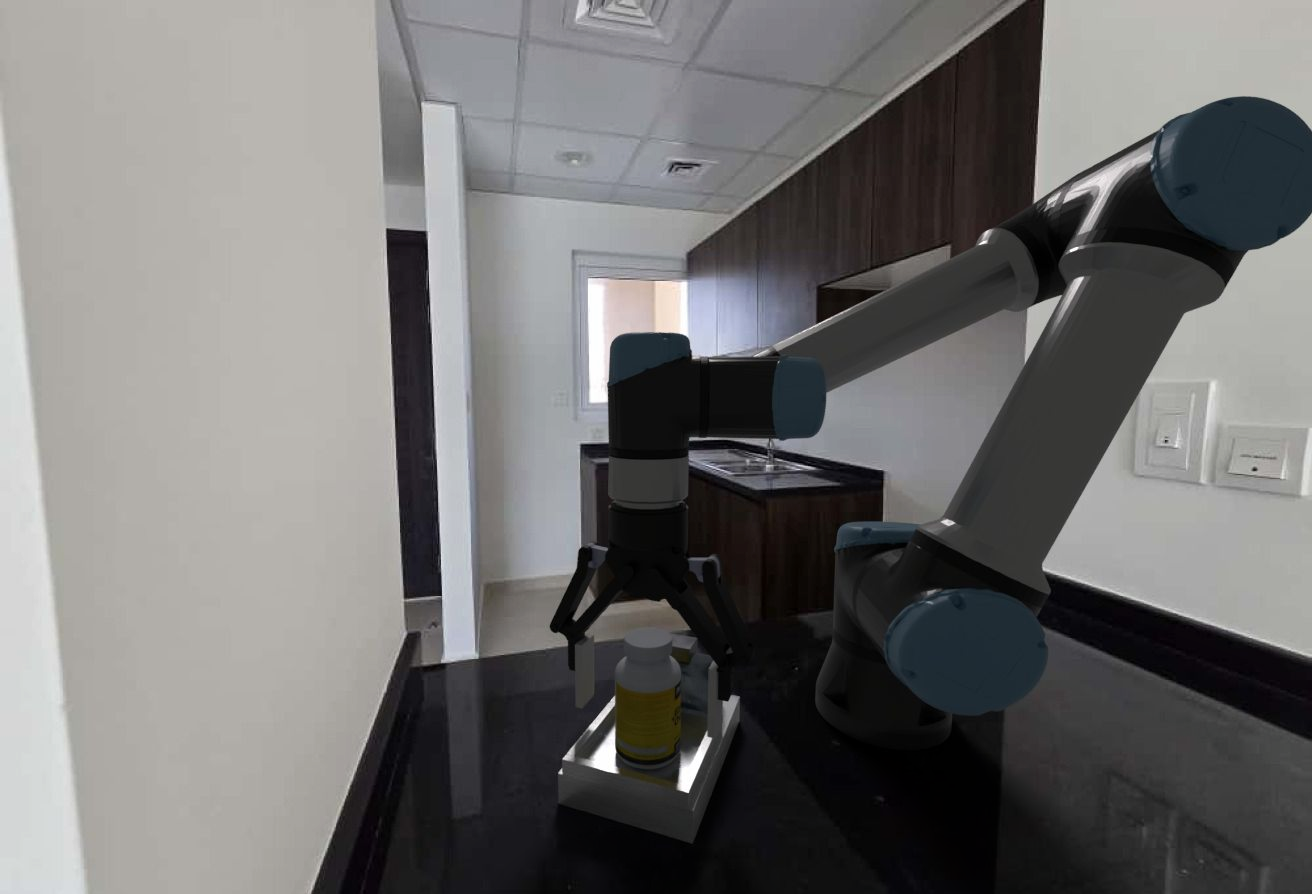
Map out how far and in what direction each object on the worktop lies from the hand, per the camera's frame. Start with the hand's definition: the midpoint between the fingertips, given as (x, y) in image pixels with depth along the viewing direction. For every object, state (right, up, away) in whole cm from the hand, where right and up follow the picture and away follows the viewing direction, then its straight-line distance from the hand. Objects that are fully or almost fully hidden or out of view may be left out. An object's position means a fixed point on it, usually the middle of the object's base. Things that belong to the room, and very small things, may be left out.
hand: (647, 714), depth 54 cm
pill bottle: (0, -4, 0) cm, 4 cm away
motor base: (+1, -6, +4) cm, 8 cm away
